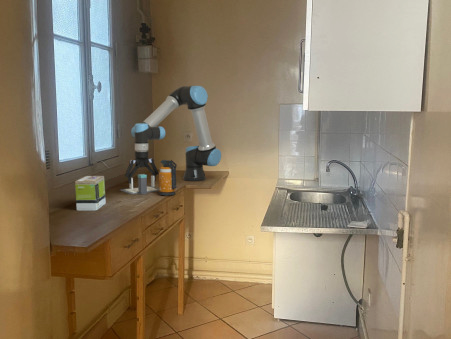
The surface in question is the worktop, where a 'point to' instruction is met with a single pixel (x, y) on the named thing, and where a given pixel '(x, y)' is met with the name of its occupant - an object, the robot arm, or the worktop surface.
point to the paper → (135, 190)
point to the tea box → (90, 193)
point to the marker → (142, 184)
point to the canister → (167, 178)
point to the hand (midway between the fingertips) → (142, 188)
